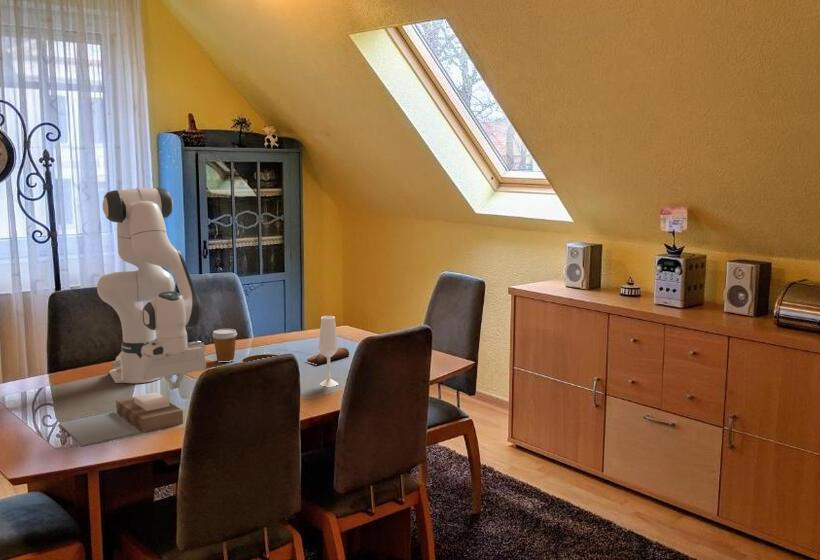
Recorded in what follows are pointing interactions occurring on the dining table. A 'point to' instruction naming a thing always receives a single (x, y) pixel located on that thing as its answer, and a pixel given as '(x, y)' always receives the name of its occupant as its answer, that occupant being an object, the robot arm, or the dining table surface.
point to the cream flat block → (151, 401)
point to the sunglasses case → (322, 359)
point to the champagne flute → (328, 345)
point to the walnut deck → (148, 415)
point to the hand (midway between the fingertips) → (174, 388)
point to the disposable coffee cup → (225, 344)
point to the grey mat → (98, 428)
